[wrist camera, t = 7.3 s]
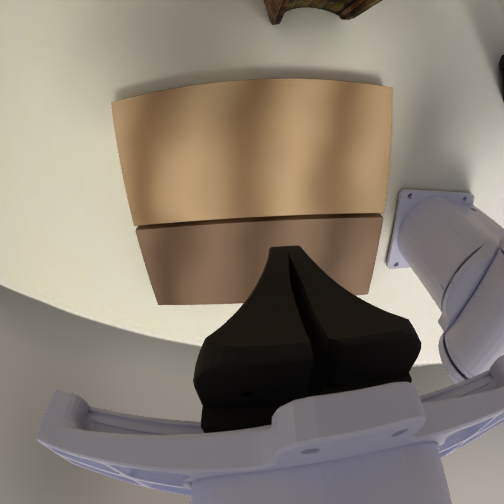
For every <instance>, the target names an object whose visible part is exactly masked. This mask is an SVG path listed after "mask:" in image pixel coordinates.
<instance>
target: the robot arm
mask: <svg viewBox="0 0 504 504" xmlns="http://www.w3.org/2000/svg"><path fill="white" fill-rule="evenodd" d="M410 193H411V195H410V197H408V195H409V194H410ZM463 198H464V199H463ZM473 202H474V195H473V194H471V193H461V192H448V191H432V190H412V189H403V190H401V191H400V193H399V198H398V205H397V211H396V217H395V223H394V228H393V234H392V239H391V244H390V249H389V253H388V258H387V262H386V265H387V267H388V268H389V269H395V268H407V267H411V268H412V270H413V271H414V272H415V274H416V275H417V276H418V278H419V279H420V281H421V282H422V284H423V285H424V286H425V288H426V289H427V291H428V292H429V294H430V295H431V297H432V298H433V300H434V301H435V303H436V304H437V306H438V307H439V309H440V310H441V312H442V315H441V317H440V318H439V320H438V323H439V324H440V326H441V328H442V329H443V331H444V333H443V334H442V335H441V337H440V340H439V345H438V346H439V353H440V357H441V361H442V364H443V366H444V368H445V370H446V372H447V373H448V375H449V376H450V377H451V378H452V379H453V381H454V382H456V384H454V385H451V386H449V387H446V388H443V389H440V390H437V391H434V392H431V393H428V394H425V395H422V396H419V395H418V392H417V389H416V387H415V386H414V385H412V384H411V381H412V379H411V377H410V374H409V371H410V369H411V367H412V366H413V364H414V362H415V361H416V359H417V357H418V355H419V353H420V350H421V342H420V340H419V338H418V335H417V333H416V331H415V329H414V327H413V326H412V324H411V323H410V321H409V319H406V318H403V317H400V316H397V315H394V314H392V313H389V312H386V311H384V310H382V309H380V308H377V307H375V306H373V305H371V304H369V303H367V302H365V301H364V300H362V299H360V298H359V297H357V296H355V295H354V294H352V293H350V292H349V291H347V290H346V289H345V288H343V287H342V286H340V285H339V284H338V283H337V282H335V281H334V280H333V279H332V278H331V277H329V276H328V275H327V274H326V273H325V272H324V271H323V270H322V269H321V268H320V267H319V266H318V265H317V264H316V263H315V262H314V261H313V260H312V259H311V258H310V257H309V256H308V254H307V253H306V252H305V251H304V250H303V249H302V248H301V247H300V246H299V245H297V246H278V247H271V248H270V249H269V255H268V259H267V263H266V265H265V268H264V270H263V273H262V275H261V277H260V279H259V281H258V283H257V285H256V286H255V288H254V290H253V291H252V293H251V294H250V296H249V297H248V299H247V300H246V301H245V302H244V304H243V305H242V306H241V307H240V309H239V310H238V311H237V312H236V313H235V314H234V315H233V316H232V317H231V318H230V319H229V320H228V321H227V322H226V323H225V324H224V325H222V326H221V327H220V328H219V329H217V330H216V331H215V332H214V333H212V334H211V335H210V336H208V337H207V338H206V339H205V341H204V343H203V345H202V347H201V350H200V353H199V355H198V359H197V362H196V367H195V373H194V379H193V382H194V387H195V389H196V391H197V394H198V396H199V398H200V400H201V403H202V405H203V409H202V418H201V422H193V421H180V420H169V419H160V418H152V417H144V416H138V415H131V414H126V413H120V412H115V411H110V410H105V409H100V408H95V407H91V406H89V404H88V403H87V402H86V401H85V400H84V399H83V398H82V397H81V396H79V395H77V394H74V393H71V392H67V391H63V390H59V389H55V390H54V392H53V394H52V397H51V399H50V402H49V404H48V407H47V409H46V412H45V414H44V417H43V420H42V422H41V425H40V428H39V431H38V434H37V437H36V439H37V441H39V442H40V443H42V444H43V445H44V446H46V447H47V448H49V449H50V450H52V451H53V452H55V453H56V454H58V455H60V456H61V457H63V458H64V459H66V460H67V461H69V462H71V463H73V464H75V465H78V466H80V467H83V468H86V469H89V470H91V471H94V472H97V473H100V474H103V475H106V476H109V477H112V478H116V479H119V480H122V481H125V482H129V483H132V484H136V485H140V486H144V487H148V488H152V489H156V490H161V491H166V492H171V493H176V494H182V495H188V496H191V501H190V504H452V503H451V499H450V494H449V490H448V486H447V481H446V477H445V473H444V470H443V466H442V463H441V459H440V458H441V457H443V456H445V455H447V454H449V453H451V452H453V451H455V450H457V449H459V448H461V447H463V446H464V445H466V444H468V443H470V442H471V441H473V440H475V439H477V438H478V437H480V436H482V435H483V434H485V433H486V432H488V431H490V430H491V429H493V428H495V427H496V426H498V425H499V424H501V423H502V422H504V228H502V227H501V226H500V225H499V224H497V223H496V222H495V221H494V220H492V219H491V218H490V217H488V216H487V215H486V214H485V213H483V212H482V211H481V210H479V209H478V208H477V207H475V206H474V205H473ZM396 262H397V263H396ZM395 263H396V264H395Z"/></svg>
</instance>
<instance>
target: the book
mask: <svg viewBox="0 0 504 504" xmlns="http://www.w3.org/2000/svg"><path fill="white" fill-rule="evenodd" d="M381 1H382V0H264V3H265V6H266V9H267V12H268V15H269V19H270V22H271V24H272V25H276V24H279V23H280V22H281V20H282V18H283V15H284V13H285V12H286V11H289V10H291V9H295V8H301V7H311V8H318V9H323V10H327V11H330V12H332V13H335V14H337V15H339V17H340V18H341V19H343V20H349V19H352V18H355V17H356V16H358V15H360V14H361V13H363V12H364V11H366V10H368V9H369V8H371V7H372V6H374V5H376V4H377V3H379V2H381Z"/></svg>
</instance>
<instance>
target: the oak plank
mask: <svg viewBox="0 0 504 504" xmlns="http://www.w3.org/2000/svg"><path fill="white" fill-rule="evenodd" d="M111 105H112V113H113V121H114V128H115V134H116V141H117V147H118V153H119V158H120V164H121V169H122V174H123V179H124V184H125V189H126V193H127V198H128V202H129V206H130V211H131V215H132V219H133V223H134V226H139V225H150V224H161V223H173V222H186V221H199V220H213V219H229V218H246V217H264V216H286V215H311V214H345V213H384V208H385V201H386V193H387V184H388V175H389V164H390V151H391V135H392V87H386V86H379V85H372V84H365V83H356V82H347V81H335V80H320V79H253V80H237V81H225V82H215V83H207V84H199V85H192V86H185V87H179V88H173V89H168V90H162V91H157V92H152V93H148V94H143V95H139V96H135V97H131V98H127V99H123V100H119V101H115V102H112V103H111Z"/></svg>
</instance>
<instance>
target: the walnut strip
mask: <svg viewBox="0 0 504 504" xmlns="http://www.w3.org/2000/svg"><path fill="white" fill-rule="evenodd" d="M382 222H383V217H382V216H381V214H380V213H345V214H311V215H286V216H264V217H246V218H229V219H213V220H199V221H186V222H173V223H161V224H150V225H139V226H138V228H137V229H136V234H137V238H138V241H139V245H140V249H141V252H142V256H143V259H144V262H145V266H146V269H147V272H148V275H149V278H150V282H151V285H152V288H153V291H154V294H155V297H156V300H157V302H158V305H198V304H233V303H244V302H245V301H246V300H247V299H248V297H249V296H250V294H251V293H252V291H253V290H254V288H255V286H256V285H257V283H258V281H259V279H260V277H261V275H262V273H263V270H264V268H265V265H266V263H267V259H268V255H269V249H270V248H271V247H278V246H297V245H299V246H300V247H301V248H302V249H303V250H304V251H305V252H306V253H307V254H308V256H309V257H310V258H311V259H312V260H313V261H314V262H315V263H316V264H317V265H318V266H319V267H320V268H321V269H322V270H323V271H324V272H325V273H326V274H327V275H328V276H329V277H331V278H332V279H333V280H334V281H335V282H337V283H338V284H339V285H340V286H342V287H343V288H345V289H346V290H347V291H349V292H350V293H352V294H354V295H364V294H368V291H369V287H370V283H371V279H372V274H373V270H374V265H375V260H376V255H377V250H378V245H379V239H380V234H381V228H382Z"/></svg>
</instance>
